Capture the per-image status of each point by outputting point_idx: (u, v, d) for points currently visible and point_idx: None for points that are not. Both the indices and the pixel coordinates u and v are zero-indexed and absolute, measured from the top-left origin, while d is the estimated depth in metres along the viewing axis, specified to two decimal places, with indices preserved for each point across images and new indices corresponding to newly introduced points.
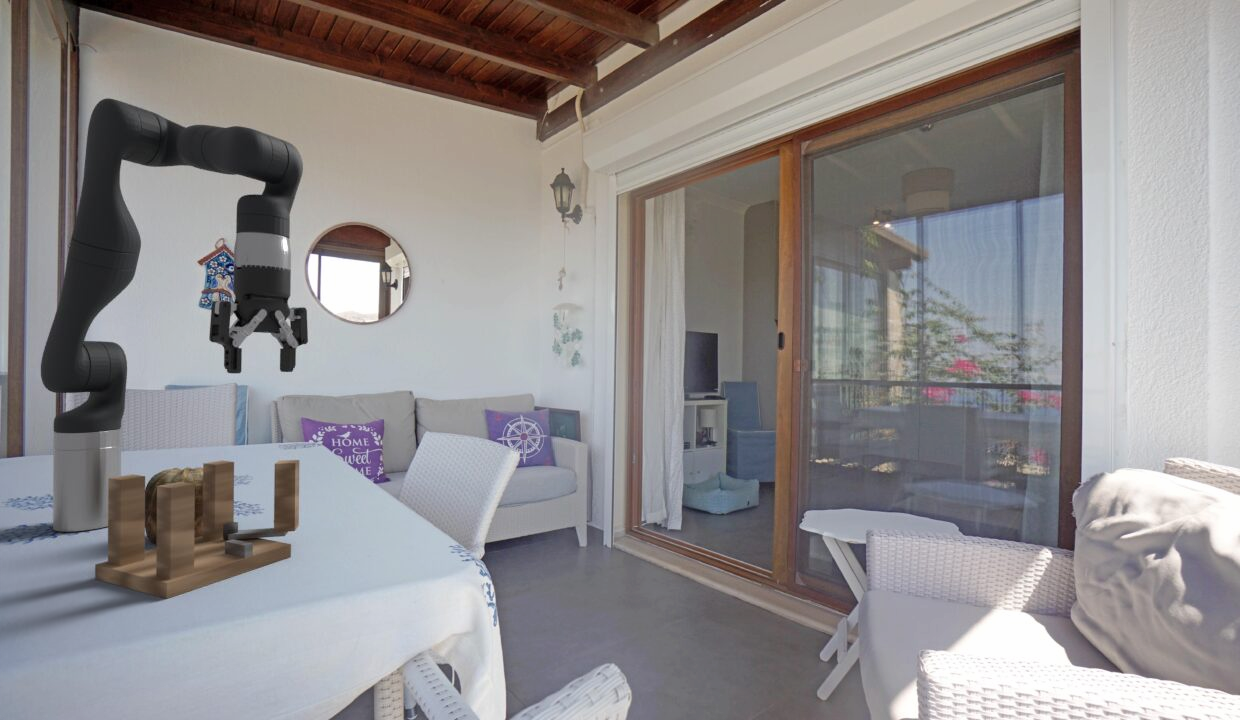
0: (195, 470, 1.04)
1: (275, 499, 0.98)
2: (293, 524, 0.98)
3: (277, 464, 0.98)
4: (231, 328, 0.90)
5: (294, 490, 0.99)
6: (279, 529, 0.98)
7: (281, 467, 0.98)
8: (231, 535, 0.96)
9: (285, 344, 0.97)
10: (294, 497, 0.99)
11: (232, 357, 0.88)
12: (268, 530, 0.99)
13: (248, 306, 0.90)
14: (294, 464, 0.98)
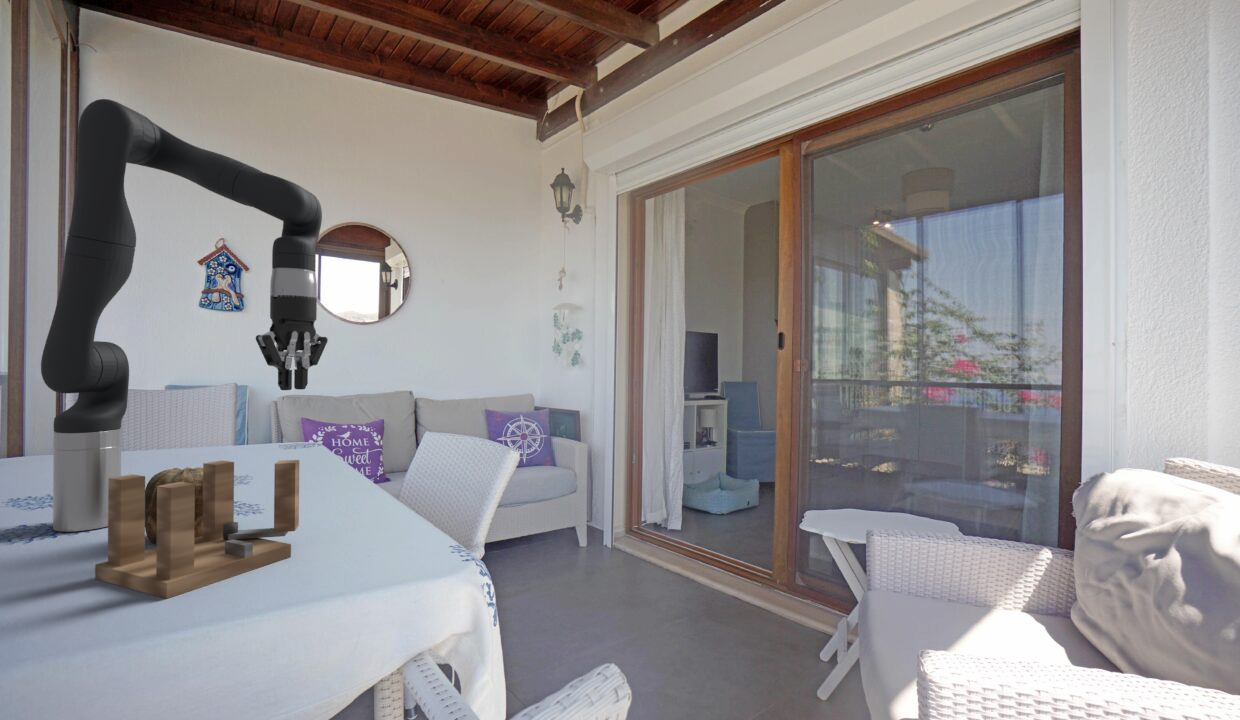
0: (195, 470, 1.04)
1: (275, 499, 0.98)
2: (293, 524, 0.98)
3: (277, 464, 0.98)
4: None
5: (294, 490, 0.99)
6: (279, 529, 0.98)
7: (281, 467, 0.98)
8: (231, 535, 0.96)
9: (298, 365, 1.13)
10: (294, 497, 0.99)
11: (284, 377, 1.10)
12: (268, 530, 0.99)
13: (282, 329, 1.09)
14: (294, 464, 0.98)
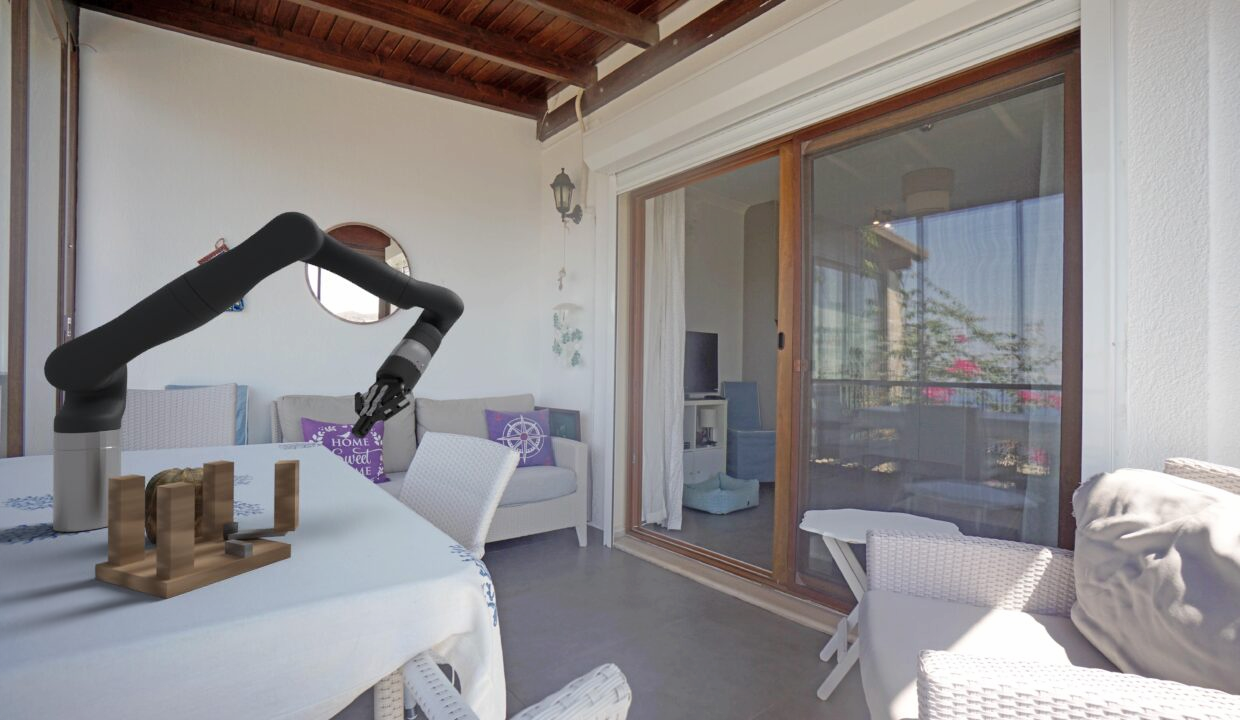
0: (195, 470, 1.04)
1: (275, 499, 0.98)
2: (293, 524, 0.98)
3: (277, 464, 0.98)
4: (378, 404, 1.15)
5: (294, 490, 0.99)
6: (279, 529, 0.98)
7: (281, 467, 0.98)
8: (231, 535, 0.96)
9: None
10: (294, 497, 0.99)
11: None
12: (268, 530, 0.99)
13: None
14: (294, 464, 0.98)
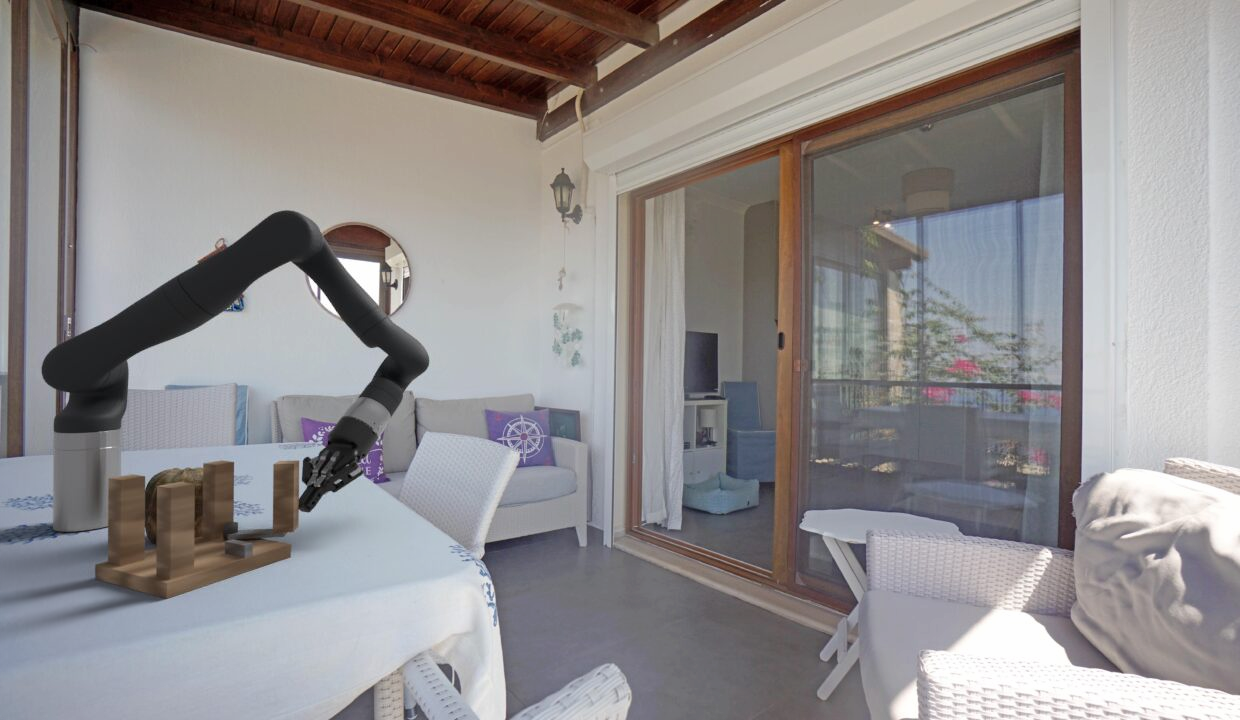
0: (195, 470, 1.04)
1: (274, 500, 0.97)
2: (292, 525, 0.98)
3: (276, 464, 0.97)
4: (328, 473, 1.04)
5: (293, 491, 0.98)
6: (278, 529, 0.98)
7: (280, 467, 0.97)
8: (230, 535, 0.96)
9: None
10: (293, 498, 0.98)
11: None
12: (267, 531, 0.98)
13: None
14: (293, 465, 0.98)
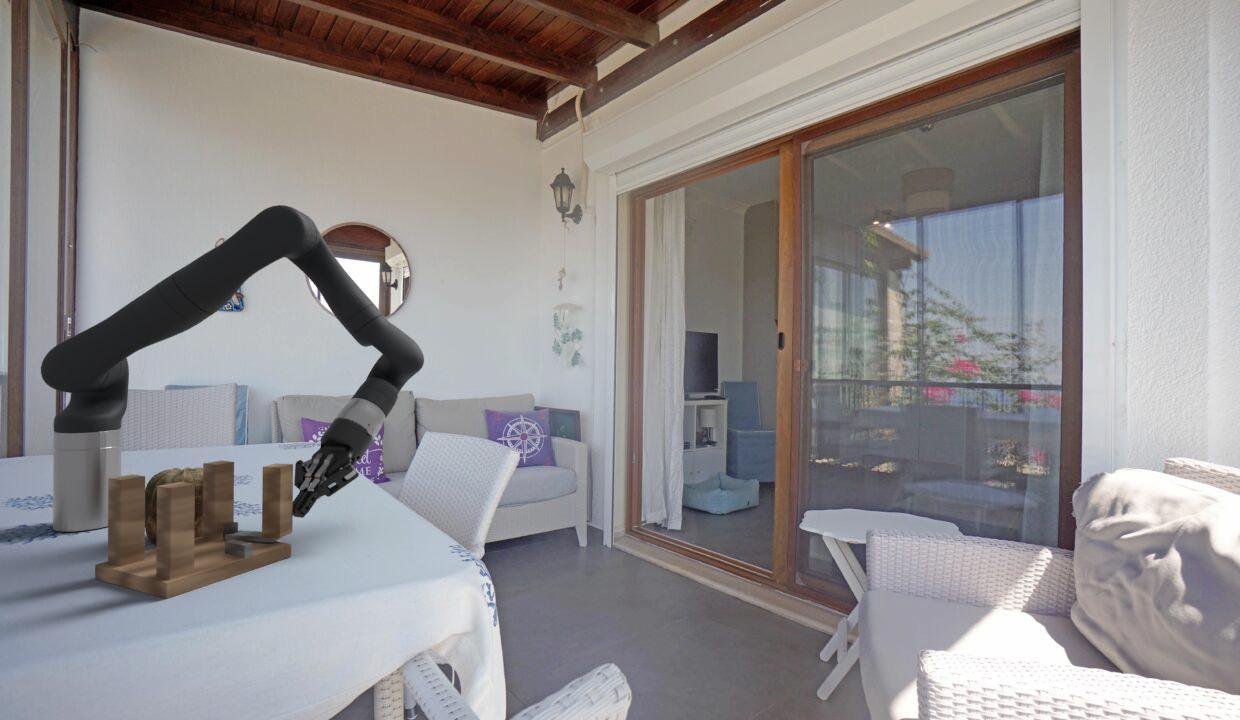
0: (195, 470, 1.04)
1: (263, 503, 0.95)
2: (278, 531, 0.95)
3: (265, 467, 0.95)
4: (321, 476, 1.01)
5: (280, 495, 0.95)
6: (266, 534, 0.95)
7: (268, 470, 0.95)
8: (227, 535, 0.96)
9: None
10: (280, 503, 0.95)
11: None
12: (261, 534, 0.97)
13: None
14: (279, 468, 0.95)
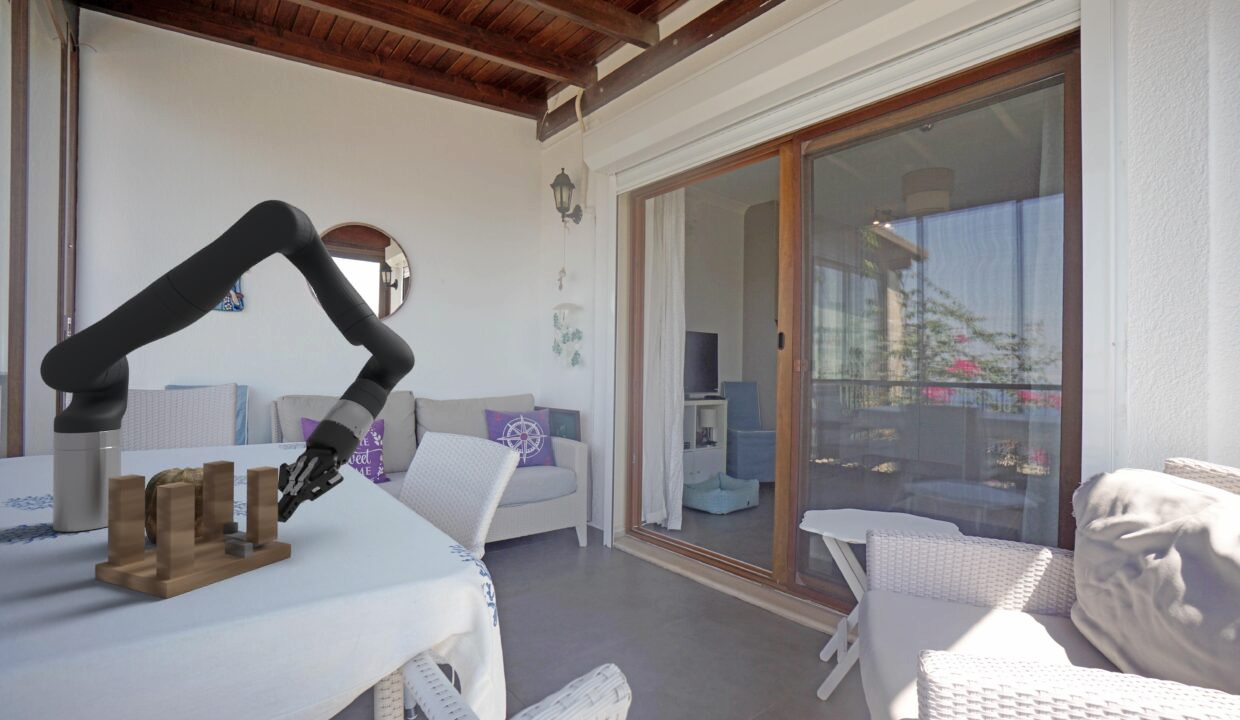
0: (195, 470, 1.04)
1: (247, 506, 0.93)
2: (257, 537, 0.92)
3: (249, 470, 0.93)
4: (305, 480, 0.98)
5: (258, 500, 0.92)
6: (249, 539, 0.93)
7: (251, 473, 0.92)
8: (224, 535, 0.96)
9: None
10: (259, 508, 0.92)
11: None
12: None
13: None
14: (258, 472, 0.92)
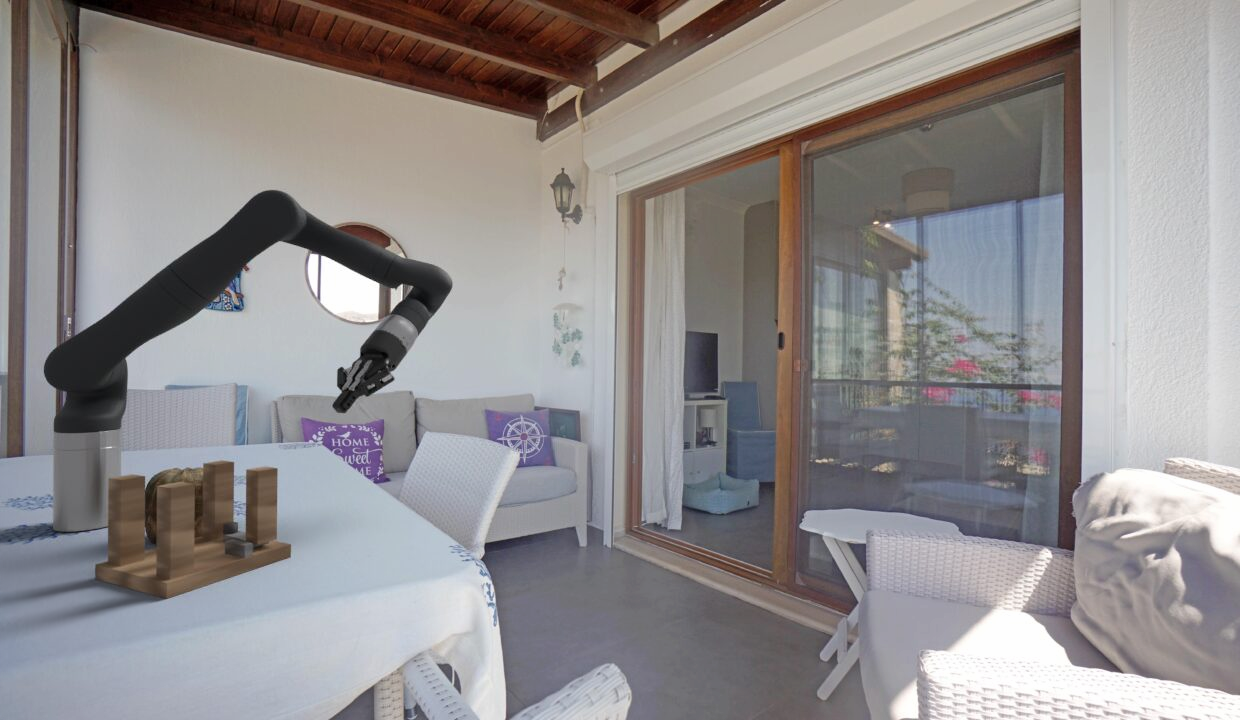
0: (195, 470, 1.04)
1: (246, 507, 0.93)
2: (256, 537, 0.92)
3: (248, 470, 0.93)
4: (361, 378, 1.11)
5: (258, 500, 0.92)
6: (248, 539, 0.93)
7: (250, 473, 0.92)
8: (224, 535, 0.96)
9: None
10: (258, 508, 0.92)
11: None
12: None
13: None
14: (257, 472, 0.92)
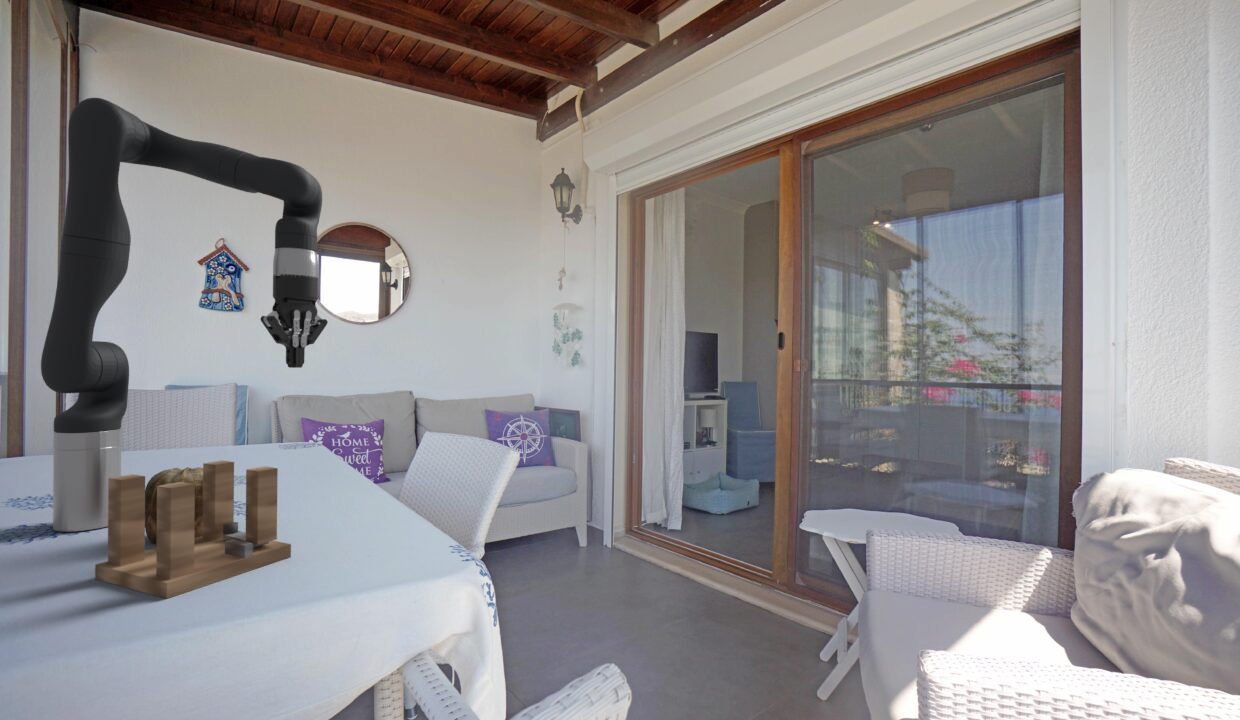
0: (195, 470, 1.04)
1: (246, 507, 0.93)
2: (256, 537, 0.92)
3: (248, 470, 0.93)
4: None
5: (258, 500, 0.92)
6: (248, 539, 0.93)
7: (250, 473, 0.92)
8: (224, 535, 0.96)
9: None
10: (258, 508, 0.92)
11: (292, 355, 1.13)
12: None
13: (284, 307, 1.11)
14: (257, 472, 0.92)
